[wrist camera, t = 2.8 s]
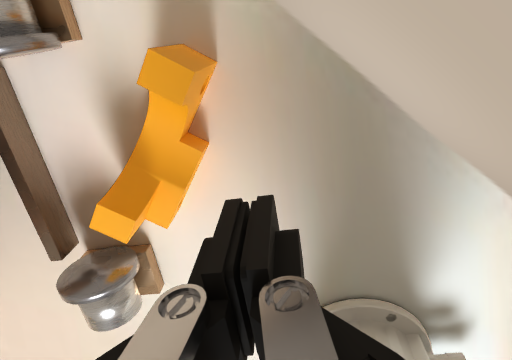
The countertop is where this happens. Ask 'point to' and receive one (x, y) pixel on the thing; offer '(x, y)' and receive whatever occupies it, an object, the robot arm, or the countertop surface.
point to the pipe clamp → (159, 145)
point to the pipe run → (44, 192)
